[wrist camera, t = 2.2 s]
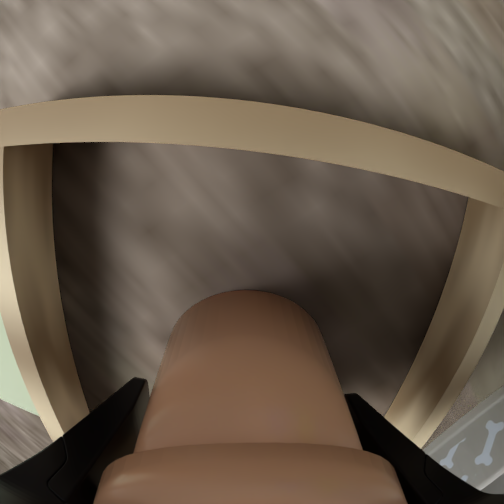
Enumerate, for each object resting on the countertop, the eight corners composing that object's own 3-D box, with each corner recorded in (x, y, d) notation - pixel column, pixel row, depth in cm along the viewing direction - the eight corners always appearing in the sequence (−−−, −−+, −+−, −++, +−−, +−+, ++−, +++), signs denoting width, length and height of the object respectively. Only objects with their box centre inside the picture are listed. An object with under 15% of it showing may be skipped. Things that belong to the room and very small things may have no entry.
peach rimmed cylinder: (312, 418, 12) (343, 565, 5) (159, 406, 11) (125, 558, 5) (358, 285, 10) (477, 467, 3) (152, 263, 9) (33, 462, 2)
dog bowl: (406, 513, 20) (418, 549, 15) (359, 469, 14) (379, 537, 9) (535, 426, 17) (555, 456, 12) (562, 319, 12) (607, 359, 7)
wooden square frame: (368, 462, 14) (379, 495, 11) (86, 441, 13) (73, 474, 10) (490, 175, 8) (537, 188, 6) (33, 114, 7) (-16, 112, 5)
